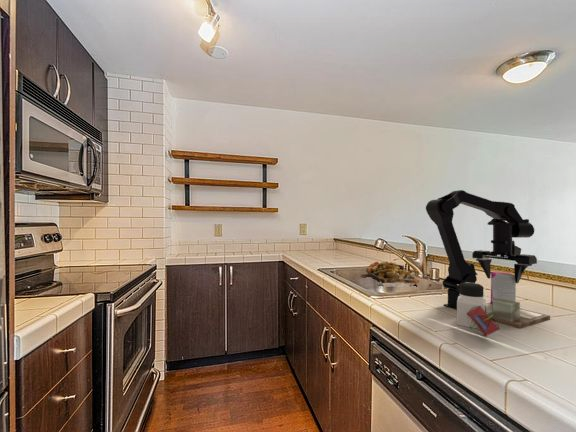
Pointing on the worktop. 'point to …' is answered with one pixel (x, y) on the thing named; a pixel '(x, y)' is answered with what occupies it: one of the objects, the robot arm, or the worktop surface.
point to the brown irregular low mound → (391, 275)
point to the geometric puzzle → (482, 320)
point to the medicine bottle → (469, 302)
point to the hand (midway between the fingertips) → (502, 280)
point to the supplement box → (503, 286)
